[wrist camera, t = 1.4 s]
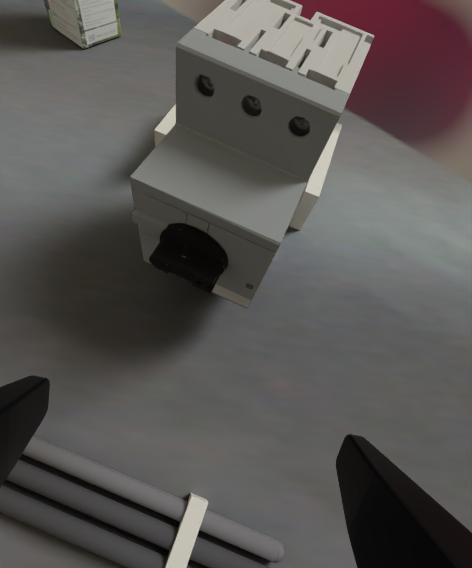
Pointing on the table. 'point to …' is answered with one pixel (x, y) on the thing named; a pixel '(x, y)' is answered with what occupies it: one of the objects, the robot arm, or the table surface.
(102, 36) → the syrup box
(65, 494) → the dressed cords
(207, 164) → the circuit breaker
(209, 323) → the table surface
